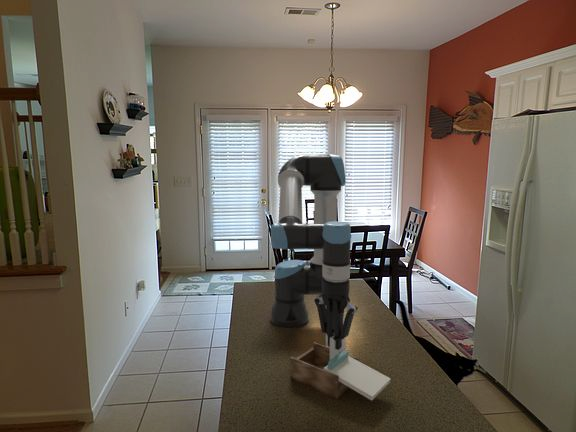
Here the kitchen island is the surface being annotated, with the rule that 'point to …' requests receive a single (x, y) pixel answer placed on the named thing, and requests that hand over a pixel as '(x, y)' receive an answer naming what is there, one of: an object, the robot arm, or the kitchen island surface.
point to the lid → (357, 375)
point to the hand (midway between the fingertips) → (334, 358)
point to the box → (317, 371)
